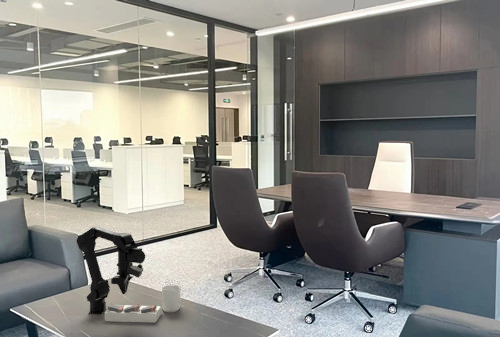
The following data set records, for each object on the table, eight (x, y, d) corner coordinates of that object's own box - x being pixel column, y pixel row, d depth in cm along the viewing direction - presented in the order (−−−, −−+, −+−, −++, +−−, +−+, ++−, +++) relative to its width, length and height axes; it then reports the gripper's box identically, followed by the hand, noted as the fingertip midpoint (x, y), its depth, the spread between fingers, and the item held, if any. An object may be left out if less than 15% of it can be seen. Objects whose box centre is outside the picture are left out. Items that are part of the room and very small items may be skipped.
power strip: (104, 321, 200) (104, 312, 200) (112, 312, 210) (112, 304, 210) (155, 322, 199) (155, 313, 199) (160, 314, 209) (160, 305, 209)
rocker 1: (107, 309, 201) (108, 306, 201) (110, 307, 205) (110, 303, 204) (120, 313, 201) (121, 309, 201) (122, 310, 204) (123, 307, 204)
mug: (172, 314, 209) (173, 291, 209) (158, 311, 213) (158, 289, 213) (186, 306, 220) (186, 284, 220) (172, 303, 224) (172, 282, 224)
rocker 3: (141, 313, 201) (140, 310, 200) (143, 311, 204) (142, 307, 204) (154, 310, 200) (153, 307, 200) (156, 308, 203) (155, 305, 203)
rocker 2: (124, 313, 201) (123, 309, 201) (127, 310, 204) (126, 307, 204) (137, 310, 201) (136, 307, 201) (139, 307, 204) (139, 304, 204)
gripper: (134, 266, 193) (134, 300, 194) (146, 256, 212) (146, 287, 212) (110, 265, 193) (110, 299, 194) (124, 255, 212) (124, 286, 213)
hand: (124, 293), depth 203 cm, fingers closed
